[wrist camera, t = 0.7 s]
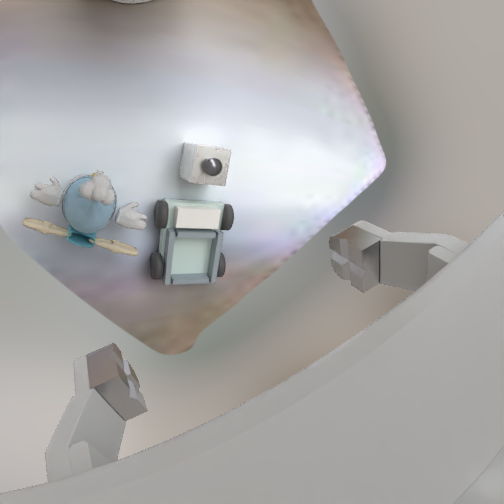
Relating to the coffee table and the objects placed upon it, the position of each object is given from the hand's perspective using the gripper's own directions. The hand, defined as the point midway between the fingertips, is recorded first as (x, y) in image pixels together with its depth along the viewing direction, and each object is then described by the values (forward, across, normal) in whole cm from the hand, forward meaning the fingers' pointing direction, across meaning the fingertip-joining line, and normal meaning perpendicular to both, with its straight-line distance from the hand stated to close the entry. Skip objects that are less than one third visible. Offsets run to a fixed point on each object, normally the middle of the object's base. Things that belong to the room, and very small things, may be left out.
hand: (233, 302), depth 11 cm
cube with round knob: (+38, -10, +4) cm, 40 cm away
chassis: (+38, -5, +15) cm, 41 cm away
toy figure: (+38, +6, +3) cm, 39 cm away
